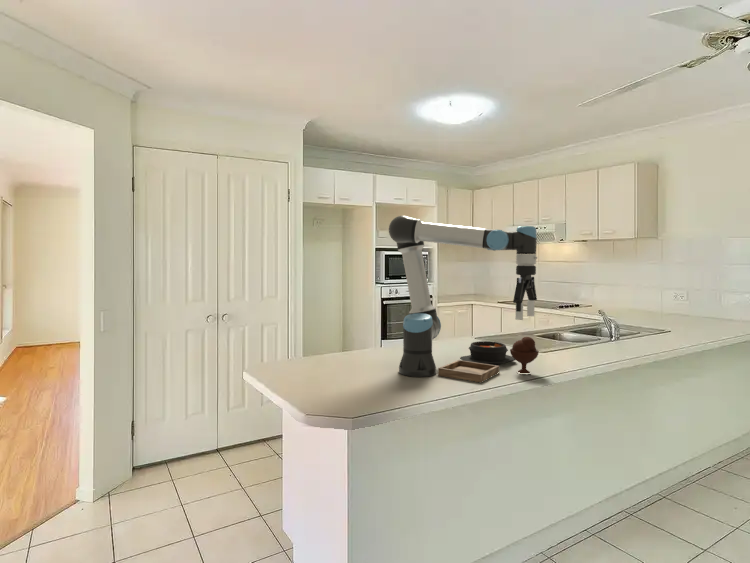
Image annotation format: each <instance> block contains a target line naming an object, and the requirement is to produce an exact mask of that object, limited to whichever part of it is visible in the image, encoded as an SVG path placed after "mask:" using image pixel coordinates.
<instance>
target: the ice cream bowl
mask: <svg viewBox="0 0 750 563" xmlns="http://www.w3.org/2000/svg"><path fill="white" fill-rule="evenodd" d="M509 352H510V354H511V355H510V356H512V357H513V358H514V359H515V361H517V362H518V363H520V364H521V369H518V370H517V371H518V372H520V373H530V372H531V371H529V370H528V369H527V365H528V364H530V363H532V362H533V361H535V360H536V359H537V358H538V355H539V353H540V352H539V350H538V349H537V348H536V341H535V340H534V338H532V337H531V336H524V337H522V338H521V339H519V340H516V341H515V342H514V343H513V345H512V347H511V348H509Z"/></svg>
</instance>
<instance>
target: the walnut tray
mask: <svg viewBox="0 0 750 563" xmlns="http://www.w3.org/2000/svg"><path fill="white" fill-rule="evenodd" d="M498 372H499V373H500V365H490V364H483V363H476V362H469V361H463V360H461V359H458V360H455V361H452V362H449V363H447V364H445V365H442V366H440V367H438V368H437V375H438V376H440V377H446V378H452V379H457V380H461V379H463V380H462V381H467V380H469V381H468V382H473V381H475V382H474V383H478V382H481V383H483V382H485V381H487V380H489V379H490V377H491V376H493V375H495V374H497V373H498ZM497 375H498V374H497ZM495 376H496V375H495ZM493 377H494V376H493ZM488 378H489V379H488ZM491 378H492V377H491ZM486 379H487V380H486ZM484 380H485V381H484ZM482 381H483V382H482Z"/></svg>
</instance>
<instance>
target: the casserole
mask: <svg viewBox="0 0 750 563" xmlns="http://www.w3.org/2000/svg"><path fill="white" fill-rule="evenodd" d="M468 349H469V351H470V354H469V355H464V356H460V357H459V360H463V361H469V362H476V363H483V364H490V365H496V366H498V365H497V364H499V365H501V364H505V363H509V362H515V361H516V360H515V359H514V358H513V357H512V355H509V354H507V352H508V351H509V349H508V348H507V345H506V344H505V343H502V342H498V341H497V342H496V341H489V340H488V341H487V340H485V341H483V340H479V341H474V342H471V343H470V346H469V347H468Z"/></svg>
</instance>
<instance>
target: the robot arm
mask: <svg viewBox="0 0 750 563" xmlns="http://www.w3.org/2000/svg"><path fill="white" fill-rule="evenodd" d="M388 235H389V236H390V238H391V239H392V240H393V242H395V243H396V247H397V251H398V252H399V253H401V254H402V260H403V267H404V271H405V276H406V283H407V289H408V294H409V299H410V305H411V309H410V310H409V311H408V314H407V315H405V316H404V318H403V322H402V327H403V335H402V336H403V337H402V338H403V339H402V340H403V342H402V343H403V344H402V346H403V348H402V351H403V352H402V356H401V358H400V361H399V366H398V373H399V374H400V375H403V376H407V377H416V378H424V377H432V376H435V375H436V374H437V366H436V363H435V360H434V356H433V340H434V339H436V338H437V337H438V335H439V334H440V332H441V327H442V323H441V320H440V318H439V317H438V314H437V309H436V307H435V306H434V305H433V304H432V300H431V296H430V294H431V293H430V289H429V284H428V278H427V273H426V267H425V263H424V262H425V261H424V257H423V251H422V250H423V249H424V247H425V242H427V243H436V244H442V245H443V244H445V245H453V246H461V247H469V248H470V247H471V248H478V249H485V250H487V251H494V252H496V251H516V256H515V257H516V258H515V259H516V260H515V263H516V267H515V268H516V269H515V274H516V275H517V276H519V277H517V278H516V286H515V288H514V289H515V290H514V296H513V300H512V302H513V304H515V320H517V321H524V303H523V301H524V299H525V298H524V297H525V294H526V295H527V299H528V300H527V302H526V304H527V305H526V306H527V307H526V311H527V313H526V315H527V317H535V301H537V300H538V298H537V291H536V290H537V289H536V283H535V275H536V274H537V267H536V264H537V259H538V256H537V238H538V237H537V227H535V226H534V225H525V226H524V225H523V226H521V225H520V226H518V227H517V228H516V231H505V230H503V229H491V228H484V227H483V228H482V227H473V226H464V225H453V224H445V223H433V222H424V221H422V220H421V219H420V218H415V217H412V216H407V215H398V216H396V217H394V218H393V219H392V220H391V221H390V223H389V224H388Z"/></svg>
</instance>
